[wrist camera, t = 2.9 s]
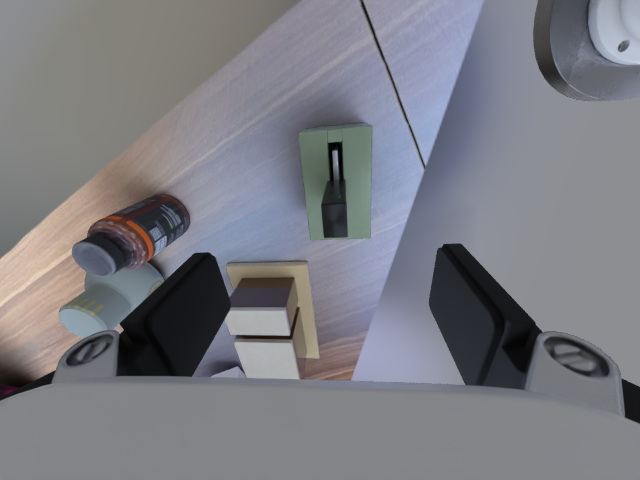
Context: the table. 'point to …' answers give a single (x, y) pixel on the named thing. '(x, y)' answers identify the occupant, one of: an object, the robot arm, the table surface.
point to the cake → (272, 318)
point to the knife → (335, 202)
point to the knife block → (352, 168)
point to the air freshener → (109, 299)
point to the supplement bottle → (131, 236)
